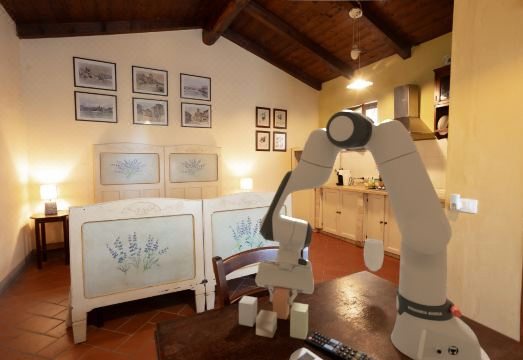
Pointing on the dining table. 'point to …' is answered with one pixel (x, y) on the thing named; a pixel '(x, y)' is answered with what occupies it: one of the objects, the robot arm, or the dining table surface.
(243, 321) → the light grey block
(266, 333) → the off-white cube
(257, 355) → the dining table surface
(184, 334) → the dining table surface
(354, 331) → the dining table surface
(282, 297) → the terracotta block
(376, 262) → the cup
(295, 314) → the sage block
